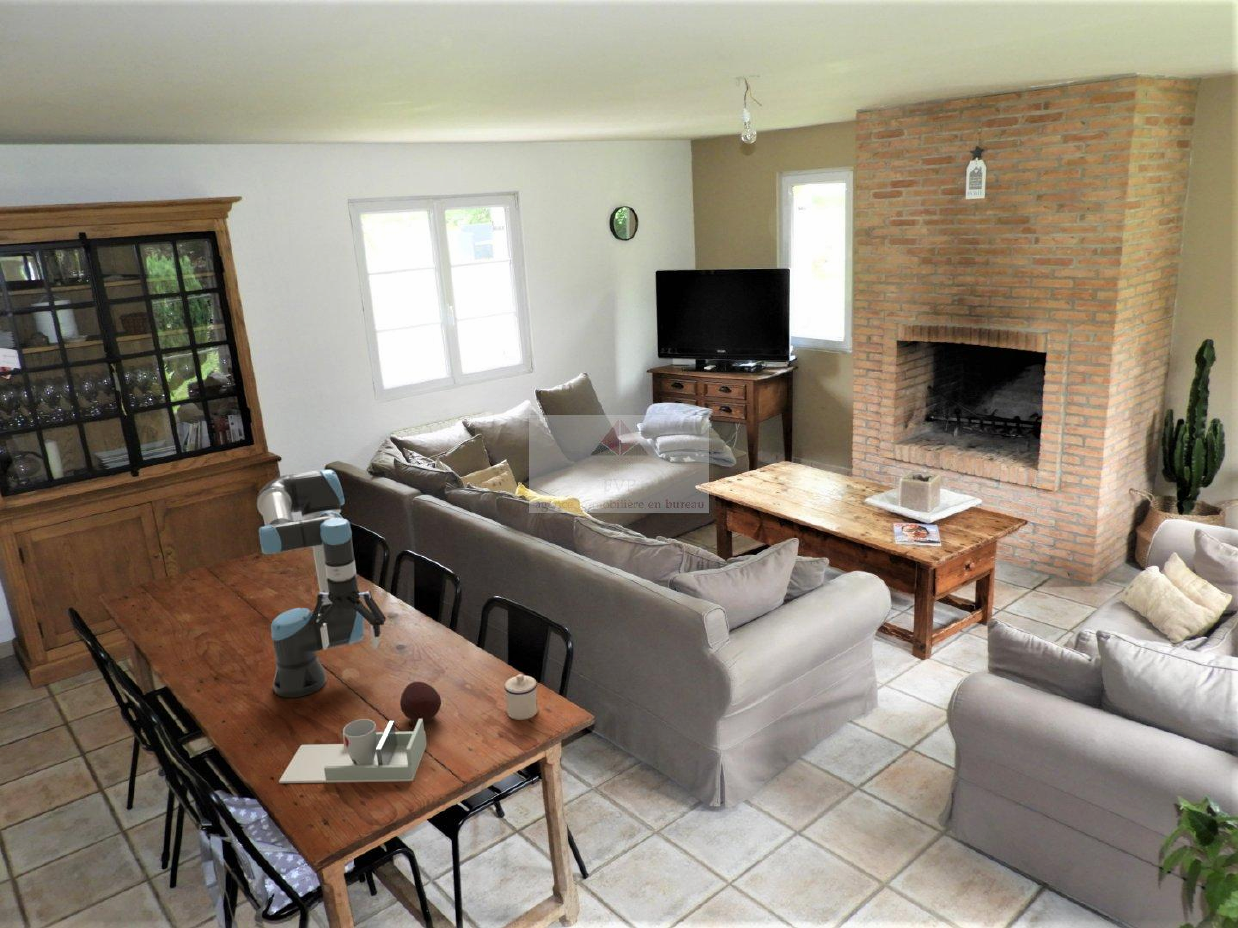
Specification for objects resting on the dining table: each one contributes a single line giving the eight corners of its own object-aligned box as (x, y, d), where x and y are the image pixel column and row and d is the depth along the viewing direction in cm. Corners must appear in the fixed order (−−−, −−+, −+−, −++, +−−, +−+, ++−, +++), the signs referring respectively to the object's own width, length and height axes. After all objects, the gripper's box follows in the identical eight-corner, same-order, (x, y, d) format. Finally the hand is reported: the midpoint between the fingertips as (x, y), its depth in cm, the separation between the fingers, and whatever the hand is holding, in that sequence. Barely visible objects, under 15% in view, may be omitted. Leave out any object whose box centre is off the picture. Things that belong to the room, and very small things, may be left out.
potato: (407, 736, 245) (403, 703, 242) (398, 712, 257) (394, 680, 254) (447, 726, 249) (443, 693, 246) (436, 703, 261) (433, 671, 258)
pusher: (379, 774, 228) (376, 749, 226) (392, 745, 240) (389, 721, 238) (384, 774, 228) (380, 749, 226) (396, 745, 240) (393, 720, 238)
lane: (279, 783, 227) (274, 753, 225) (301, 746, 242) (297, 718, 240) (412, 781, 226) (409, 751, 224) (426, 744, 241) (423, 716, 239)
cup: (351, 753, 237) (346, 720, 235) (382, 751, 238) (378, 717, 235) (345, 772, 230) (340, 738, 227) (377, 769, 230) (372, 735, 227)
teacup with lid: (545, 712, 254) (542, 675, 251) (518, 724, 249) (515, 687, 245) (521, 695, 263) (518, 660, 260) (494, 707, 258) (491, 671, 254)
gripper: (289, 582, 234) (300, 654, 241) (384, 581, 234) (392, 653, 240) (300, 570, 241) (310, 640, 248) (392, 569, 241) (400, 639, 247)
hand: (351, 646), depth 244 cm, fingers open, 13 cm apart
